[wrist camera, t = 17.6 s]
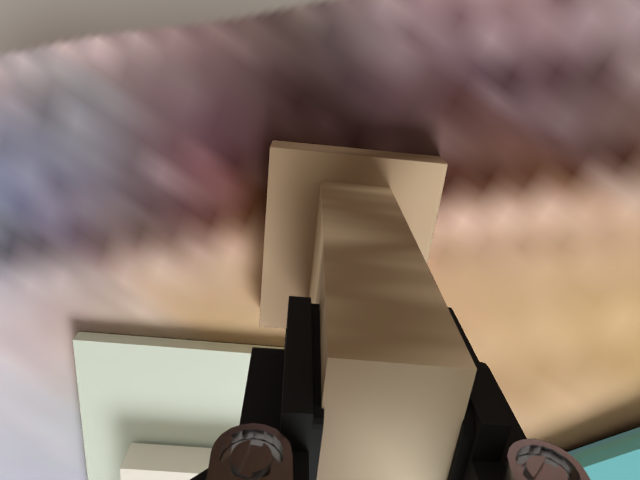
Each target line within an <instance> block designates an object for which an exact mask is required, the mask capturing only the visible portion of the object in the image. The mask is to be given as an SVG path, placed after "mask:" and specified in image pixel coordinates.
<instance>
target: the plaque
mask: <svg viewBox="0 0 640 480" xmlns="http://www.w3.org/2000/svg"><path fill="white" fill-rule="evenodd" d="M567 453H569V454H570V455H571V456H572V457H574V458H575V459H576V460H577V461H578V462H579V463H580V464H581V466H582V467H583V468H584V470H585V471H586V472H587V474H588V476H589V478H590V479H591V480H640V427H638V428H635V429H632V430H629V431H626V432H623V433H621V434H618V435H615V436H612V437H609V438H606V439H603V440H600V441H597V442H595V443H592V444H589V445H586V446H583V447H580V448H577V449H574V450H571V451H569V452H567Z"/></svg>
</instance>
